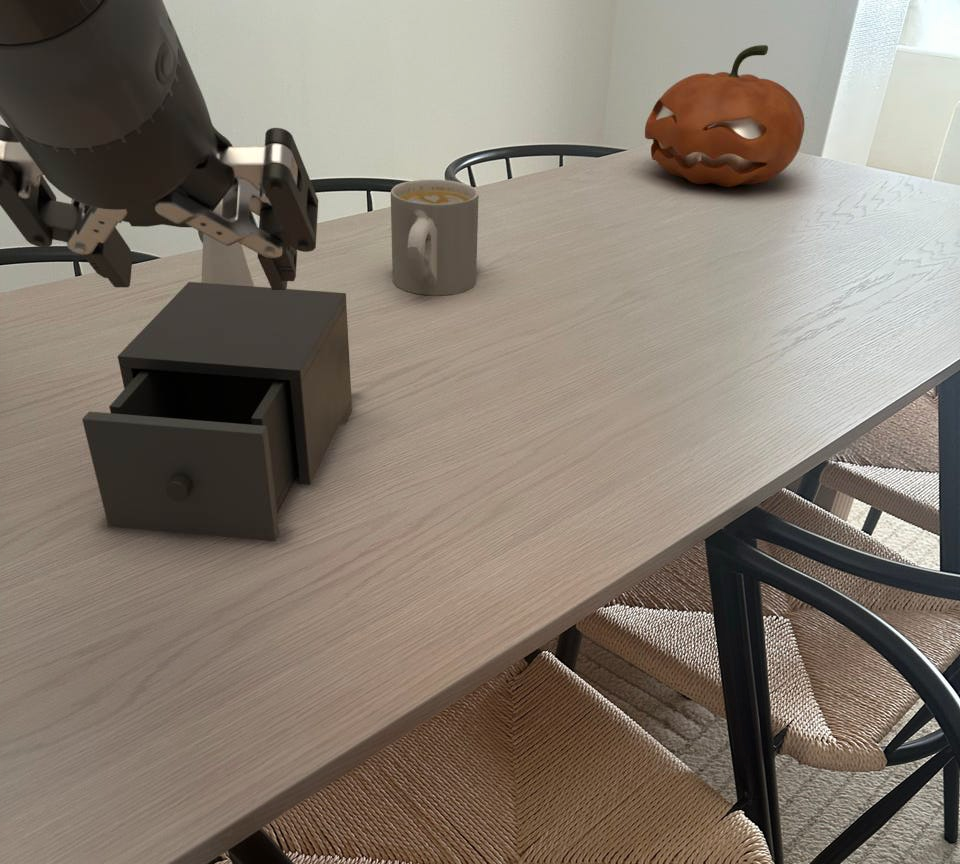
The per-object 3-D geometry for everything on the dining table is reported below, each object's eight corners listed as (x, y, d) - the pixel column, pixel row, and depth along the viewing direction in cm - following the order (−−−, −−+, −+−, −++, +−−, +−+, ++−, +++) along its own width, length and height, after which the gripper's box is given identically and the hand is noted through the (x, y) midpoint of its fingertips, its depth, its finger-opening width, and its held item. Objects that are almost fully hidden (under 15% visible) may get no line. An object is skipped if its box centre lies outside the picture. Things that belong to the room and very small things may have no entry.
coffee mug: (416, 260, 123) (415, 174, 116) (489, 274, 120) (492, 187, 113) (362, 295, 113) (358, 203, 107) (440, 311, 110) (441, 218, 104)
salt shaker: (198, 315, 107) (179, 188, 99) (250, 308, 109) (235, 182, 101) (213, 335, 103) (194, 204, 95) (266, 327, 105) (252, 198, 97)
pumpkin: (607, 176, 156) (621, 38, 144) (688, 150, 171) (708, 22, 159) (748, 211, 144) (777, 63, 132) (822, 179, 159) (854, 44, 147)
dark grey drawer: (271, 553, 71) (257, 442, 66) (101, 537, 72) (73, 427, 66) (321, 448, 83) (313, 347, 78) (176, 436, 84) (158, 335, 78)
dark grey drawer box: (311, 497, 79) (300, 370, 72) (143, 483, 80) (117, 355, 73) (352, 409, 91) (345, 292, 84) (206, 397, 92) (188, 281, 85)
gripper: (270, -33, 38) (337, 211, 54) (-97, -38, 38) (78, 206, 54) (258, 146, 37) (330, 341, 53) (-120, 140, 37) (66, 336, 53)
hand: (202, 273), depth 53 cm, fingers open, 8 cm apart
